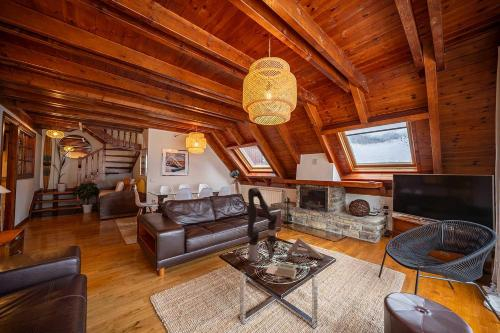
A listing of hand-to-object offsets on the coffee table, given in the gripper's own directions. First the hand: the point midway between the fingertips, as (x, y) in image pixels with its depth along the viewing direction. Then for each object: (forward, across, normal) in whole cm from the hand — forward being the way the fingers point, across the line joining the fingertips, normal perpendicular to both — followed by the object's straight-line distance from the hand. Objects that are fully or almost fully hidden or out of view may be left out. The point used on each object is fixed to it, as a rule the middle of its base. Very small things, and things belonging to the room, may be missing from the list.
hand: (271, 251), depth 183 cm
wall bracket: (+18, +27, +39) cm, 51 cm away
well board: (+18, +9, 0) cm, 20 cm away
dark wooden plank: (+5, 0, 0) cm, 5 cm away
